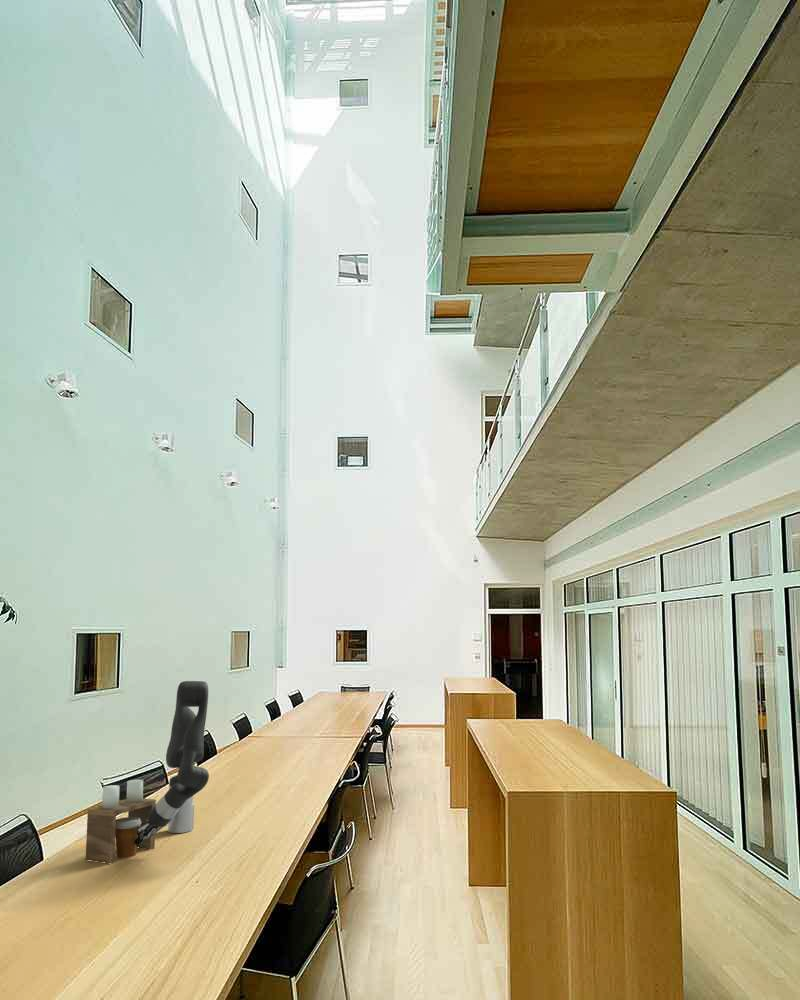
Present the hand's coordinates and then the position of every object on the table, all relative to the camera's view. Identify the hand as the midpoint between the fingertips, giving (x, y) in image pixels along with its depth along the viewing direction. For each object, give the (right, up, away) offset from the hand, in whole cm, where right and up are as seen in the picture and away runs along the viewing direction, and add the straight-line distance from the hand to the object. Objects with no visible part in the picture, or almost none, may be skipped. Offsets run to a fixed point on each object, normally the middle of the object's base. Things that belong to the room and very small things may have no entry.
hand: (136, 843), depth 292 cm
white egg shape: (-4, +11, +10) cm, 16 cm away
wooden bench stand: (-6, -5, +2) cm, 8 cm away
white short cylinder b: (-9, +13, -1) cm, 16 cm away
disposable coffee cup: (-4, -5, +1) cm, 6 cm away
